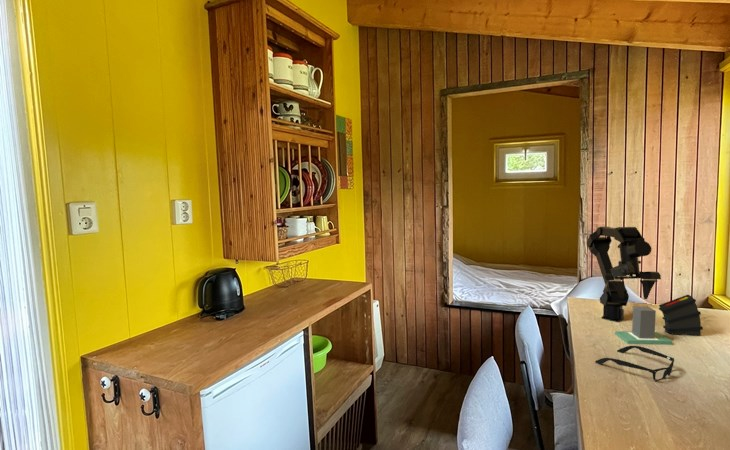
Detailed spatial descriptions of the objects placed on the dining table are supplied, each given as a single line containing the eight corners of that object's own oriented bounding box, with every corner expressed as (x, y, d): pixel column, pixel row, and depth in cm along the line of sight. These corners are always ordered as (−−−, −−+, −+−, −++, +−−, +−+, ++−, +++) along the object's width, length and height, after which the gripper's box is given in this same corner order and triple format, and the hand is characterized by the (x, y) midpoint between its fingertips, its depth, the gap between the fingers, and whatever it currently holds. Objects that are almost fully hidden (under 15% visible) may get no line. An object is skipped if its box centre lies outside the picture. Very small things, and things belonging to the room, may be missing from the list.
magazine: (711, 332, 148) (694, 296, 148) (674, 345, 151) (657, 310, 151) (705, 328, 152) (688, 293, 152) (669, 341, 155) (652, 307, 155)
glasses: (655, 389, 115) (657, 373, 115) (593, 364, 130) (594, 349, 129) (679, 373, 124) (681, 358, 123) (618, 351, 139) (619, 338, 138)
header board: (615, 334, 153) (615, 322, 153) (657, 335, 151) (657, 322, 151) (627, 343, 144) (628, 330, 144) (672, 344, 143) (673, 331, 142)
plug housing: (639, 338, 146) (640, 310, 144) (632, 333, 150) (633, 306, 149) (654, 338, 145) (655, 310, 144) (646, 333, 150) (647, 306, 149)
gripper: (593, 259, 162) (596, 298, 159) (638, 255, 145) (643, 299, 142) (612, 260, 166) (616, 298, 163) (659, 256, 149) (664, 299, 146)
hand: (633, 298), depth 154 cm, fingers open, 9 cm apart
